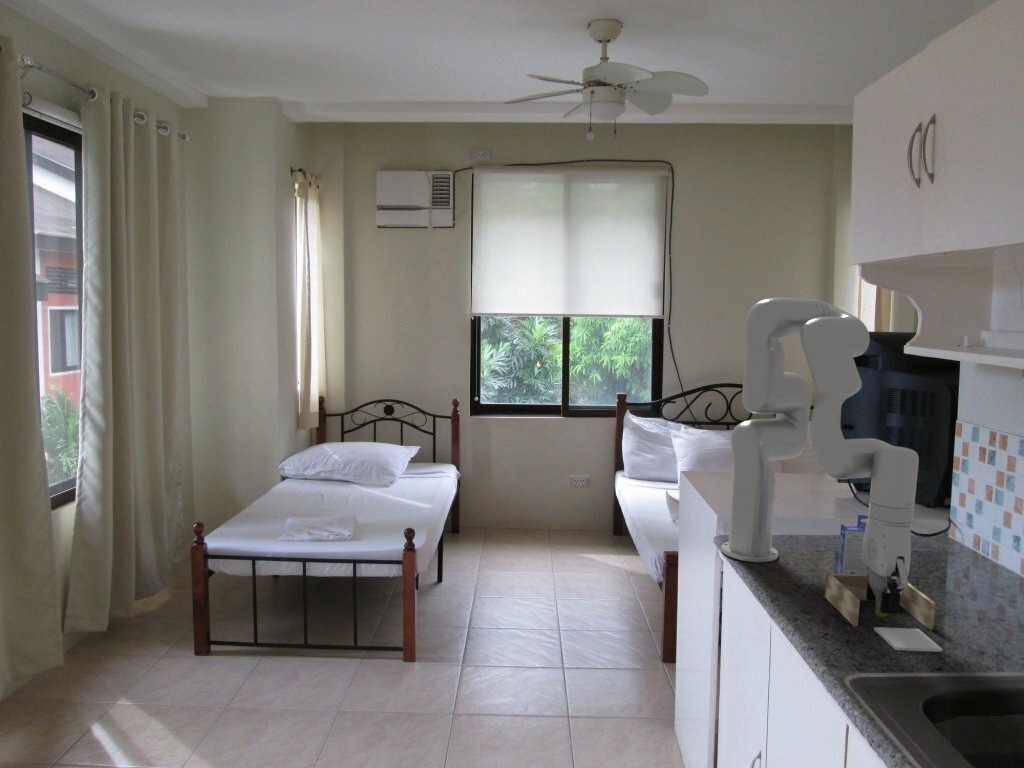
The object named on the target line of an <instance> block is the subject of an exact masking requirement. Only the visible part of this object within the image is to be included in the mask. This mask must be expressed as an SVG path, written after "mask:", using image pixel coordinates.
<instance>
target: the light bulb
mask: <svg viewBox="0 0 1024 768" xmlns="http://www.w3.org/2000/svg"><path fill="white" fill-rule="evenodd" d="M891 576H896V573H892V574H891ZM893 582H896V580H894V579H890V585H891V584H892V583H893ZM869 584H870V587H871V589H872V591H873V593H874V595H875V597H876V601H875V612H874V613H875V615H876V616H878V617H879V618H880V619H881V618H885V617H888V613H882V612H881V611H880V609H881V598H882V591H883V592H885V590H884V578H882V577H880V576H879V575H877V574H876V573H875V572H874V571H872V570H871V572H870V574H869Z"/></svg>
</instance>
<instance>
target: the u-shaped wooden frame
mask: <svg viewBox="0 0 1024 768" xmlns="http://www.w3.org/2000/svg"><path fill="white" fill-rule="evenodd" d="M868 580H869V579H868V578H867V575H857V574H838V573H828V572H827V573H826V574H825V585H824V597H825V598H826V599H827V600H828V601H829V602H830V603H831V604H832V605H833V606H834V607H835V608H836V609H837V610H838V611H839V612H840V613H841V614H842V615H843V616H844V617H845V618H846V619H847V620H848V621H849V622H850V623H851V624H852V625H853V626H852V625H851V624H850V623H849V622H848V621H847V620H846V619H845V618H844V617H843V616H842V615H841V614H840V613H839V612H838V611H837V610H836V609H835V610H836V611H837V612H838V613H839V614H840V615H841V616H842V617H843V618H844V619H845V620H846V621H847V622H848V623H849V624H850V625H851V626H852V627H856V626H858V625H859V615H860V604H861V603H860V602H861V601H869V600H867V599H866V594H867V583H868ZM825 598H824V599H825ZM827 600H826V601H827ZM828 601H827V602H828ZM829 602H828V603H829ZM869 602H870V601H869ZM830 603H829V604H830ZM831 604H830V605H831ZM832 605H831V606H832ZM899 607H901V608H902V609H904V610H905V611H906V612H907V613H908V614H909V615H911V616H912V617H913V618H915V620H917V621H918V622H920V623H921V625H923V626H924V627H925V628H927V629H928V630H934V625H935V624H934V623H935V613H936V602H934V600H932V599H930V597H928V595H925V594H924V593H923V592H921V591H920V590H918V588H916V587H915V586H913V584H911V583H909V582H908V585H907V586H906V587H904V589H903V590H902V594H901V596H900V606H899Z"/></svg>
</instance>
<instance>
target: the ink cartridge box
mask: <svg viewBox="0 0 1024 768" xmlns="http://www.w3.org/2000/svg"><path fill="white" fill-rule="evenodd" d="M865 519H866V520H867V519H868V515H863V514H857V524H844V523H842V524H840V535H839V536H840V537H839V551H838V564H837V574H857V575H867V573H868V568H867V566H866V565H865V564H864V563H863V562H862V560H861V553H862V545H863V538H864V532H865V527H866V523H867V522H863V521H861V520H865Z"/></svg>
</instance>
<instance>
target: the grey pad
mask: <svg viewBox="0 0 1024 768" xmlns="http://www.w3.org/2000/svg"><path fill="white" fill-rule="evenodd" d="M873 630H874V631H875V632H876V633H877V635H878V636H880V637H881V638H882V639H883V640H884V641H886V643H887V644H888V645H889V646H890V647H892V648H893V649H894V651H910V652H912V651H913V652H914V651H915V652H933V653H934V652H936V653H937V652H938V653H939V652H940V653H943V648H942V647H941V646H939V645H938V644H937V643H936V642H935V641H934V640H933V639H931V638H930V637H929V636H927V634H925V633H924V632H923V631H922V630H921V629H919V628H907V627H906V628H905V627H904V628H902V627H878V626H877V627H876V626H875V627H873Z"/></svg>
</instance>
